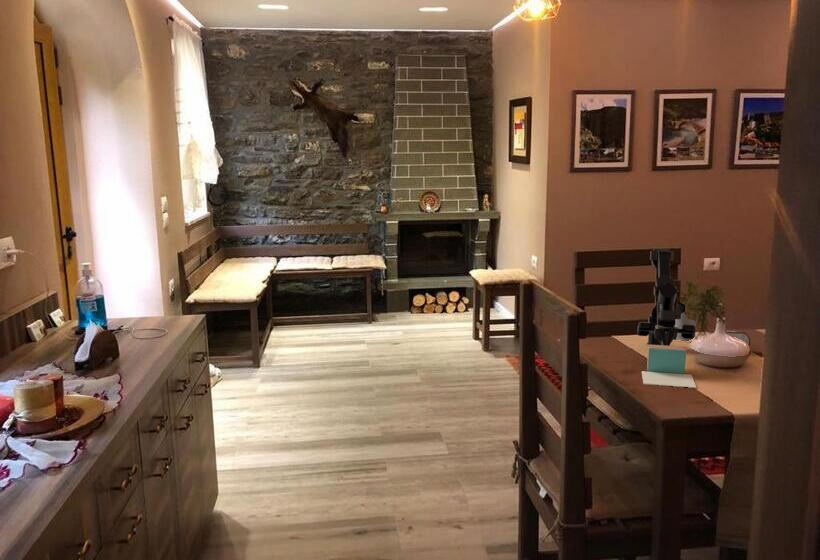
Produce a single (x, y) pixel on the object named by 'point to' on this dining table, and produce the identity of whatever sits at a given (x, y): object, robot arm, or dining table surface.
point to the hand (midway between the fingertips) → (666, 351)
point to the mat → (668, 379)
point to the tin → (739, 335)
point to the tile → (666, 359)
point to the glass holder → (682, 321)
